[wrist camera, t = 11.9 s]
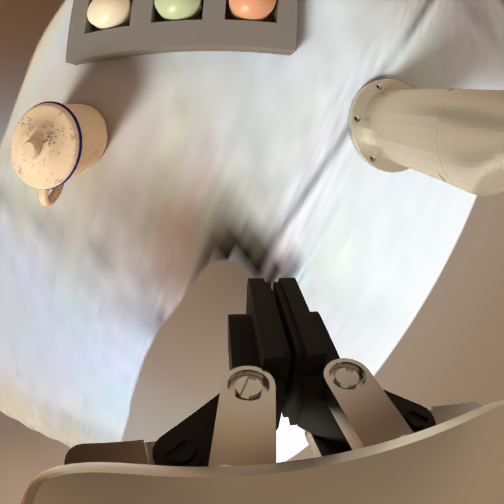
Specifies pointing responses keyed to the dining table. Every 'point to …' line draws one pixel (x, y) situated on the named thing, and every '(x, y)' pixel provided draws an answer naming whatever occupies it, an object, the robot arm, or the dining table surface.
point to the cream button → (109, 13)
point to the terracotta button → (251, 9)
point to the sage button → (178, 9)
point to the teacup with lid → (57, 145)
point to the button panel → (180, 33)
